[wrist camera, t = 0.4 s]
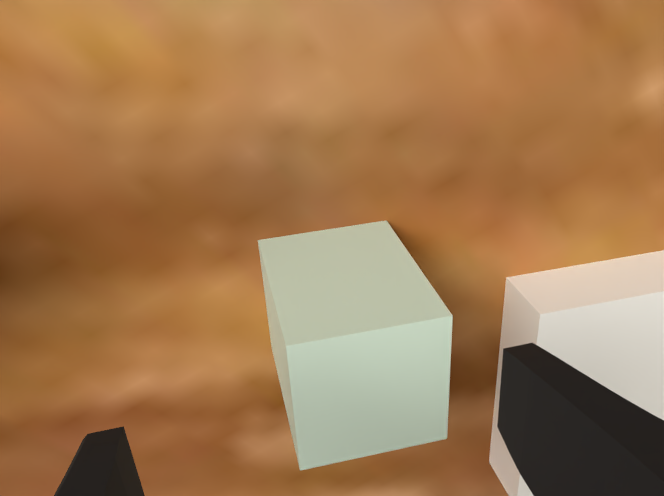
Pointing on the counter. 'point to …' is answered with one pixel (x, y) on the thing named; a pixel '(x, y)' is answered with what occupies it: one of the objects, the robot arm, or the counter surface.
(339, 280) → the sage block
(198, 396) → the counter surface
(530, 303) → the white block
